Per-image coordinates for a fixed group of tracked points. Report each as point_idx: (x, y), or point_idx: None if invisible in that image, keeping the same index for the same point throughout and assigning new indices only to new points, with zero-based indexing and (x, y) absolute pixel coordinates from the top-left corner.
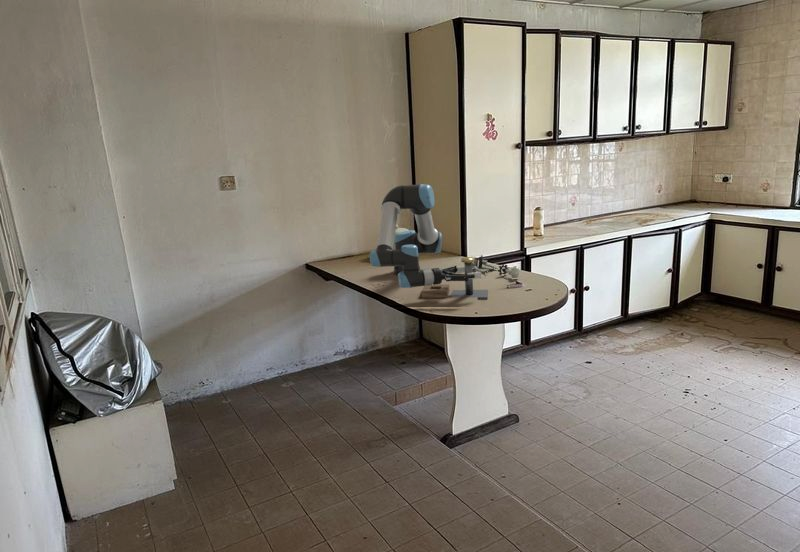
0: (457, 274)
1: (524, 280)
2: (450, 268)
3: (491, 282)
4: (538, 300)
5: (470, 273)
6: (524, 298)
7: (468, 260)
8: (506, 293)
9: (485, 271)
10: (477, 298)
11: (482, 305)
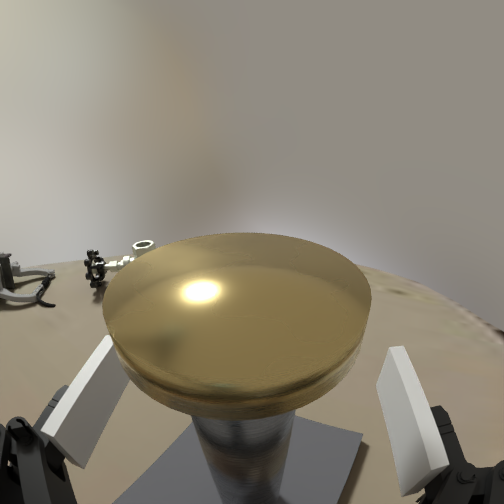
0: None
1: None
2: (3, 479)
3: None
4: (407, 306)
5: (439, 431)
6: (381, 326)
7: (369, 306)
8: None
9: (38, 293)
10: (344, 482)
11: None
